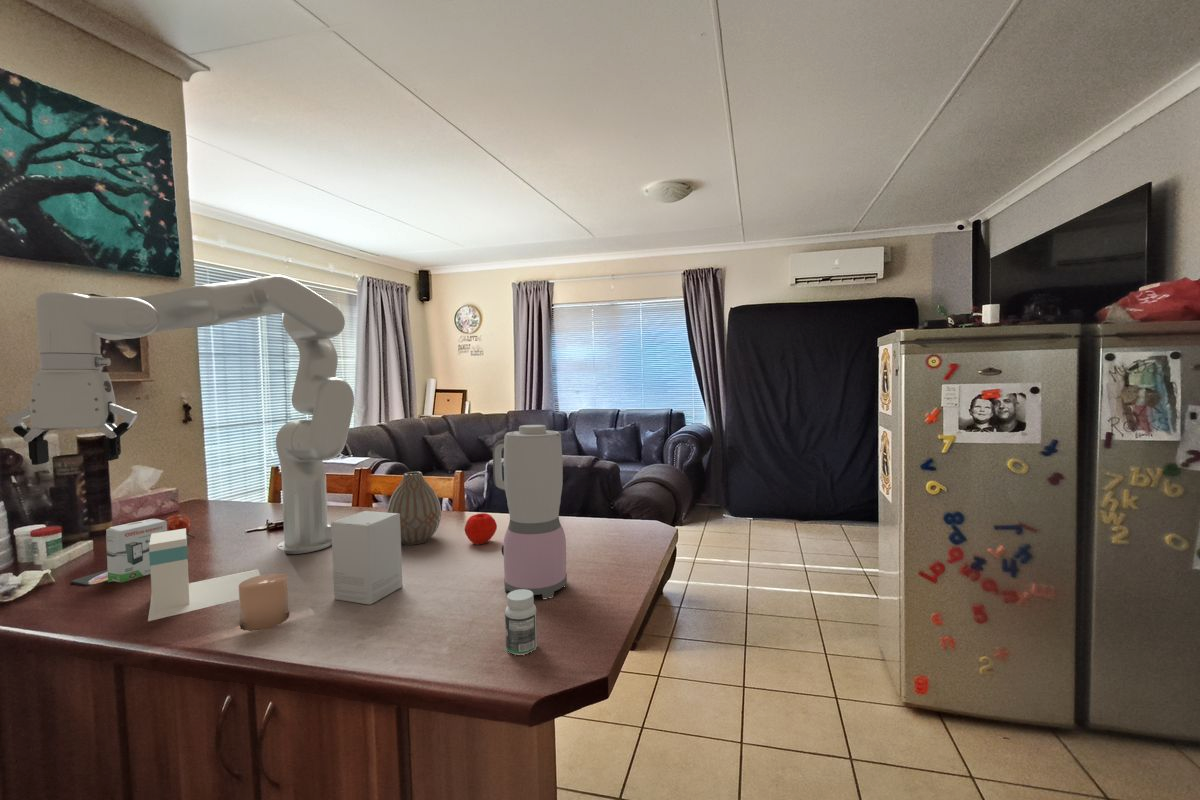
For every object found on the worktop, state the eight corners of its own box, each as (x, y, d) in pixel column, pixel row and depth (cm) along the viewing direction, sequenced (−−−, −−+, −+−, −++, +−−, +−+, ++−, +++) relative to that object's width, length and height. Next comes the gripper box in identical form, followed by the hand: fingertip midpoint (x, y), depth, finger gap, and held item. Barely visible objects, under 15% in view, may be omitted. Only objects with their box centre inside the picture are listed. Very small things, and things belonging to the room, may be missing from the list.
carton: (189, 589, 98) (186, 528, 98) (189, 603, 92) (186, 538, 91) (154, 596, 95) (151, 533, 94) (152, 612, 88) (148, 544, 88)
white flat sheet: (258, 574, 108) (257, 568, 108) (267, 599, 96) (267, 592, 96) (152, 597, 98) (152, 591, 98) (148, 628, 85) (147, 621, 85)
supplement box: (404, 586, 101) (402, 512, 100) (370, 606, 93) (367, 525, 92) (368, 581, 104) (365, 509, 103) (332, 599, 95) (329, 521, 95)
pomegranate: (181, 545, 136) (141, 530, 129) (201, 520, 138) (163, 505, 132) (188, 554, 131) (147, 539, 124) (209, 528, 134) (170, 512, 127)
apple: (493, 548, 123) (492, 518, 123) (460, 548, 123) (460, 518, 123) (500, 537, 131) (499, 509, 131) (469, 538, 131) (468, 509, 131)
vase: (395, 534, 136) (393, 469, 135) (446, 531, 137) (444, 467, 136) (380, 550, 122) (377, 479, 122) (435, 548, 124) (433, 477, 123)
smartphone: (173, 559, 117) (92, 585, 103) (173, 563, 117) (92, 589, 103) (150, 556, 119) (68, 580, 105) (150, 559, 119) (68, 584, 105)
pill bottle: (514, 638, 80) (513, 586, 80) (542, 642, 79) (541, 589, 79) (500, 654, 76) (499, 599, 75) (529, 659, 74) (528, 602, 74)
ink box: (121, 588, 102) (117, 531, 101) (107, 585, 104) (103, 528, 103) (170, 573, 110) (167, 519, 109) (156, 570, 112) (153, 517, 111)
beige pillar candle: (285, 607, 92) (284, 570, 92) (292, 621, 87) (290, 581, 87) (238, 620, 88) (236, 580, 88) (242, 635, 82) (240, 593, 82)
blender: (578, 581, 102) (576, 424, 101) (546, 606, 91) (543, 430, 90) (514, 569, 109) (511, 421, 108) (477, 591, 98) (473, 427, 97)
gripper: (143, 365, 95) (148, 455, 96) (20, 365, 89) (26, 462, 90) (122, 364, 88) (127, 461, 89) (-13, 364, 82) (-6, 468, 83)
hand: (76, 461), depth 89 cm, fingers open, 9 cm apart
